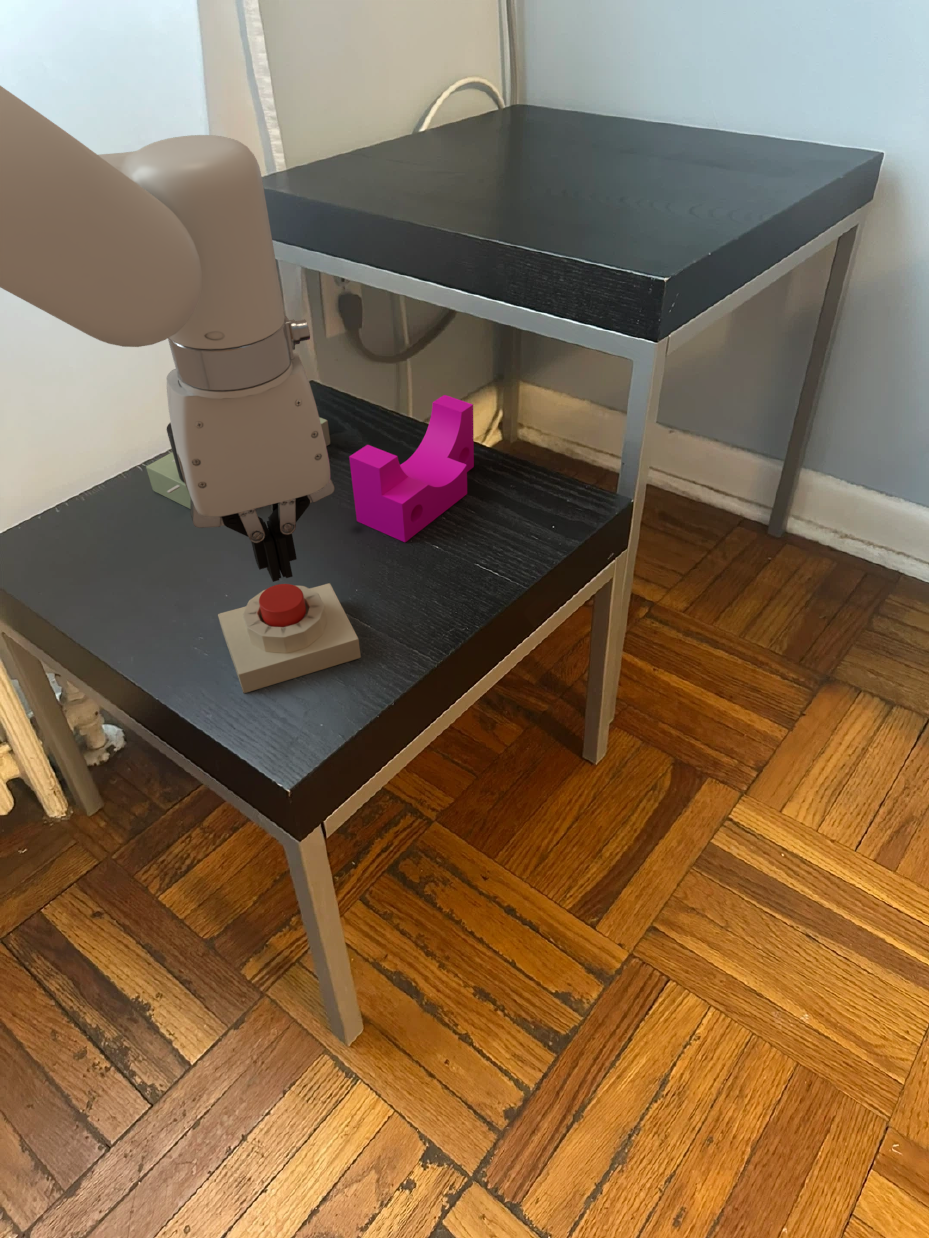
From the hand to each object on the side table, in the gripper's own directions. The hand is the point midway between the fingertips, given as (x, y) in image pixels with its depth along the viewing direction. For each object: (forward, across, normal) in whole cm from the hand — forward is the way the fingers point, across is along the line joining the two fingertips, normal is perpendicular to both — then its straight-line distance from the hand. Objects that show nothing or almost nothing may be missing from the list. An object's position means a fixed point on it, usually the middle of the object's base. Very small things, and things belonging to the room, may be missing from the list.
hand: (278, 569), depth 70 cm
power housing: (+8, 0, 0) cm, 8 cm away
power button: (+5, 0, 0) cm, 5 cm away
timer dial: (+5, +2, -25) cm, 26 cm away
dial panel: (+8, -2, -29) cm, 30 cm away
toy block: (+9, -19, -16) cm, 26 cm away
